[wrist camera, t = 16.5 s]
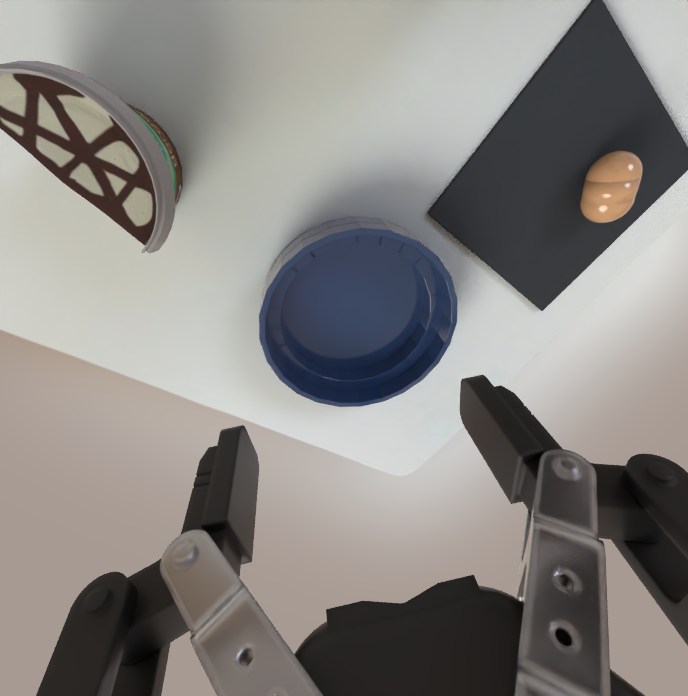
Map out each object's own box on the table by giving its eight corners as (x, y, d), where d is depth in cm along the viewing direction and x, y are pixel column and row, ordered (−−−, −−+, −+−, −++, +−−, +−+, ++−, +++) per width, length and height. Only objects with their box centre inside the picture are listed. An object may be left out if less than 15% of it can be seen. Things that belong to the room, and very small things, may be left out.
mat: (427, 212, 35) (428, 214, 35) (594, -4, 28) (599, -6, 27) (539, 309, 43) (542, 311, 43) (691, 161, 36) (696, 161, 36)
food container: (228, 177, 31) (208, 195, 23) (184, 225, 33) (149, 259, 24) (91, 33, 25) (-6, -15, 17) (45, 100, 27) (-66, 88, 18)
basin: (237, 238, 34) (230, 253, 30) (439, 199, 35) (460, 208, 30) (287, 394, 45) (287, 422, 41) (439, 362, 46) (454, 386, 41)
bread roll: (610, 156, 30) (663, 148, 30) (580, 152, 34) (627, 145, 34) (592, 231, 34) (639, 224, 33) (566, 220, 37) (609, 214, 37)
